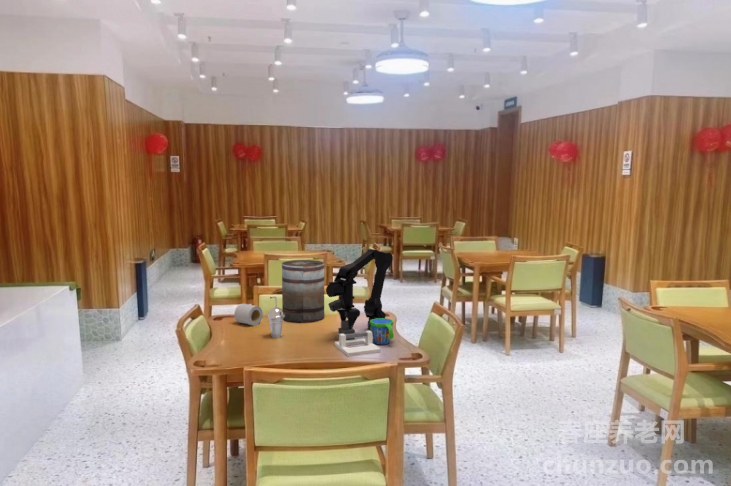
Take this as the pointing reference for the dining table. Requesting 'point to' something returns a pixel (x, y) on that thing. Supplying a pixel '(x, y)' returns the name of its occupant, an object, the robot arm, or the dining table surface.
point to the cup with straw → (276, 320)
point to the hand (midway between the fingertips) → (346, 326)
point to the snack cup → (381, 330)
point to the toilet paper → (248, 314)
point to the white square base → (360, 350)
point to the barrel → (303, 291)
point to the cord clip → (345, 329)
